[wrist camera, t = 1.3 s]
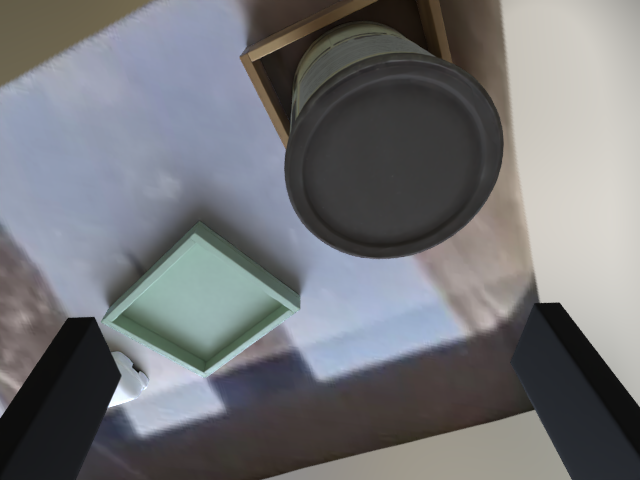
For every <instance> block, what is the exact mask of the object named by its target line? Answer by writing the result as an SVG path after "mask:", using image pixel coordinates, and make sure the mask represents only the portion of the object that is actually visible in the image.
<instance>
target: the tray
mask: <svg viewBox="0 0 640 480" xmlns="http://www.w3.org/2000/svg"><path fill="white" fill-rule="evenodd" d="M299 310H300V296H299V295H298V294H297V293H295V292H294V291H293V290H291V289H290V288H289V287H287V286H286V285H285V284H283V283H282V282H281V281H279V280H278V279H277V278H275V277H274V276H273V275H271V274H270V273H269V272H267V271H266V270H265V269H263V268H262V267H261V266H259V265H258V264H257V263H255V262H254V261H253V260H251V259H250V258H249V257H247V256H246V255H245V254H243V253H242V252H241V251H239V250H238V249H237V248H235V247H234V246H233V245H231V244H230V243H228V242H227V241H226V240H224V239H223V238H222V237H220V236H219V235H218V234H216V233H215V232H214V231H212V230H211V229H210V228H208V227H207V226H206V225H204V224H203V223H202V222H200V221H199V222H198V223H197V224H196V225H195V226H193V227H192V228H191V229H190V230H189V231H188V232H187V233H186V234H185V235H184V236H183V237H182V238H181V239H180V240H179V241H178V242H177V243H176V244H175V245H174V246H173V247H172V248H171V249H170V250H169V251H168V252H167V253H166V254H164V255H163V256H162V257H161V258H160V259H159V260H158V261H157V262H156V263H155V264H154V265H153V266H152V267H151V268H150V269H149V270H148V271H147V272H146V273H145V274H144V275H143V276H142V277H141V278H140V279H139V280H138V281H137V282H135V283H134V284H133V285H132V286H131V287H130V288H129V289H128V290H127V291H126V292H125V293H124V294H123V295H122V296H121V297H120V298H119V299H118V300H117V301H116V302H115V303H114V304H113V305H112V306H111V307H110V308H109V309H108V310H107V312H106V314H105V316H104V317H103V319H102V321H101V323H103V324H105V325H107V326H109V327H110V328H112V329H114V330H116V331H118V332H120V333H122V334H123V335H125V336H127V337H129V338H131V339H133V340H135V341H136V342H138V343H140V344H142V345H144V346H146V347H148V348H149V349H151V350H153V351H155V352H157V353H159V354H161V355H162V356H164V357H166V358H168V359H170V360H172V361H174V362H175V363H177V364H179V365H181V366H183V367H185V368H187V369H188V370H190V371H192V372H194V373H196V374H198V375H199V376H201V377H203V378H206V377H207V376H209V375H210V374H211V373H213V372H214V371H216V370H217V369H218V368H220V367H221V366H222V365H224V364H225V363H227V362H228V361H229V360H231V359H232V358H234V357H235V356H236V355H238V354H239V353H240V352H242V351H243V350H245V349H246V348H247V347H249V346H250V345H252V344H253V343H254V342H256V341H257V340H258V339H260V338H261V337H263V336H264V335H265V334H267V333H268V332H269V331H271V330H272V329H274V328H275V327H276V326H278V325H279V324H281V323H282V322H283V321H285V320H286V319H287V318H289V317H290V316H292V315H293V314H294V313H296V312H297V311H299Z"/></svg>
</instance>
